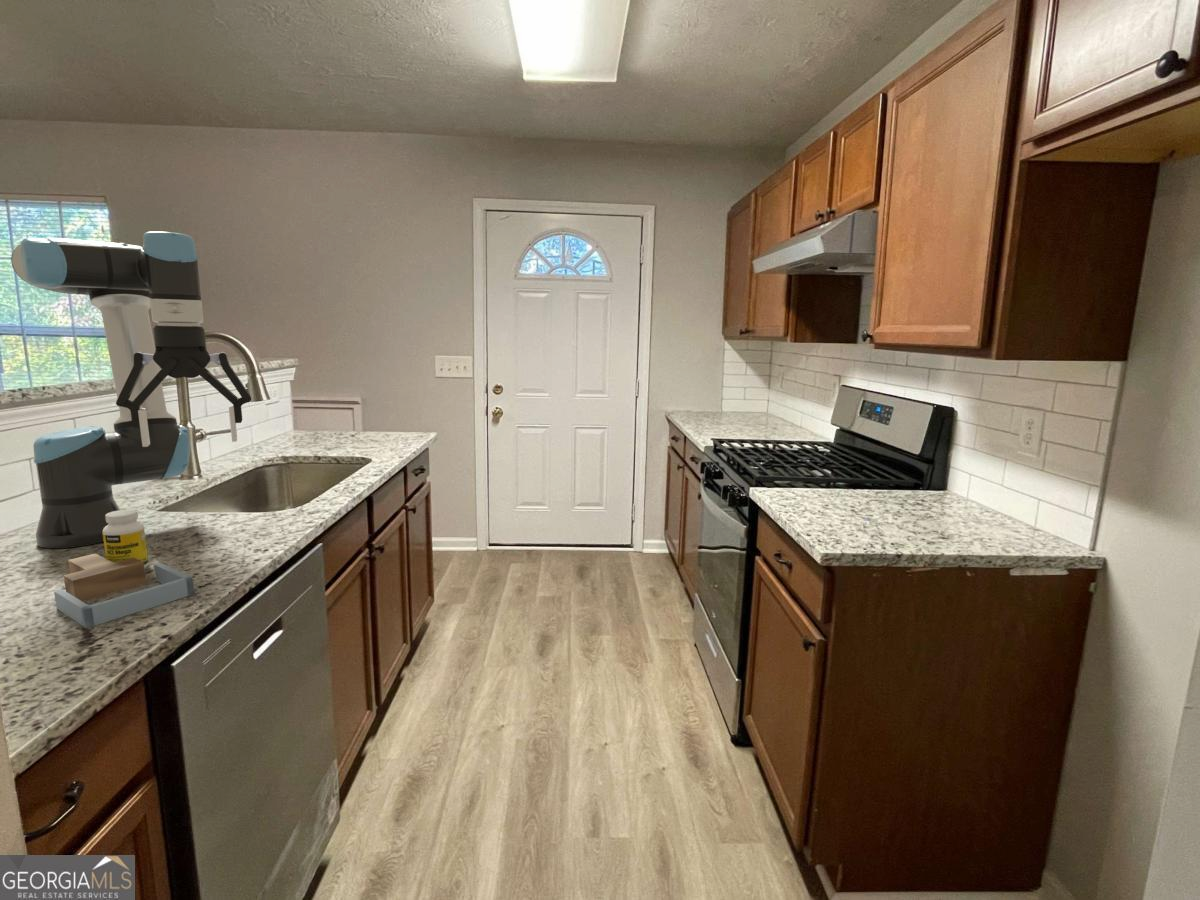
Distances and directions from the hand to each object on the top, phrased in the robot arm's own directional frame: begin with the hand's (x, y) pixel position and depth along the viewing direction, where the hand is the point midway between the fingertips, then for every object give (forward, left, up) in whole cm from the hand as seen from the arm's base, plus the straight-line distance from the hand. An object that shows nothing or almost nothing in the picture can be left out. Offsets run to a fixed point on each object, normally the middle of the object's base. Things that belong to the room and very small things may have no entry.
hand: (191, 443), depth 113 cm
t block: (-6, -15, -24) cm, 29 cm away
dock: (+6, -15, -24) cm, 29 cm away
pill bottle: (-10, -9, -24) cm, 28 cm away
